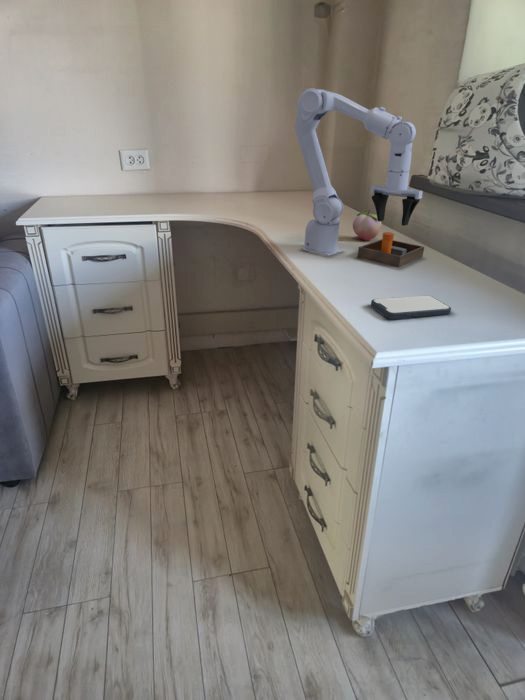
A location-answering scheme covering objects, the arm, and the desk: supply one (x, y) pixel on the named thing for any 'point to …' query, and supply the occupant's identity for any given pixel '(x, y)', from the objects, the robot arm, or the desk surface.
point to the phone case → (410, 307)
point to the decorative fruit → (366, 226)
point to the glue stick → (387, 242)
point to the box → (375, 254)
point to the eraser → (398, 251)
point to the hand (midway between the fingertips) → (392, 223)
